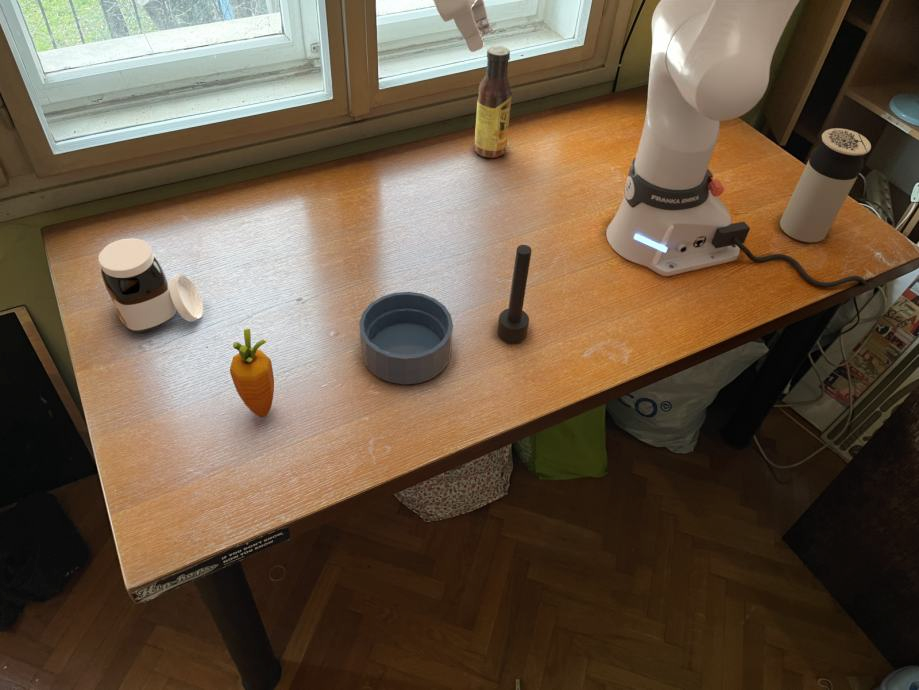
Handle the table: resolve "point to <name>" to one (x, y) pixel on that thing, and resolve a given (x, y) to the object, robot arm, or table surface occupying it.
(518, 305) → the black rod with base
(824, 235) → the travel mug
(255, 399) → the carrot
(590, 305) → the table surface
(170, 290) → the spread jar
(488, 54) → the sauce bottle
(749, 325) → the table surface
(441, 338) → the bowl
